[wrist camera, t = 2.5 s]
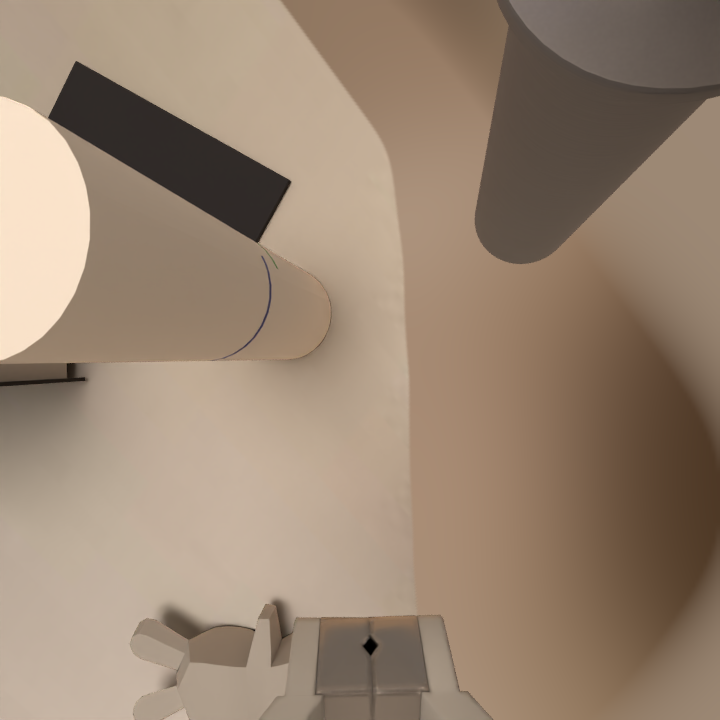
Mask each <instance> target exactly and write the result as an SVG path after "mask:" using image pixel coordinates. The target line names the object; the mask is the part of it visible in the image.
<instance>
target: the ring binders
mask: <svg viewBox="0 0 720 720" xmlns="http://www.w3.org/2000/svg"><path fill="white" fill-rule="evenodd" d="M74 381H85V377H82V378H67V363H27V364H0V386H13V385H28V384H43V383H59V382H74Z"/></svg>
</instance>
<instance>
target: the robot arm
mask: <svg viewBox="0 0 720 720" xmlns="http://www.w3.org/2000/svg"><path fill="white" fill-rule="evenodd" d="M259 720H493V719H492V718H491V717H490V716H489V714H488V713H487V712H486V711H485V710H484V709H483V708H482V707H481V706H480V705H479V703H478V702H477V701H476V700H475V699H474V698H473V697H472V696H471V695H470V693H469V692H467V691H460V690H459V685H458V681H457V677H456V672H455V668H454V664H453V659H452V655H451V650H450V646H449V642H448V638H447V633H446V629H445V625H444V621H443V618H442V617H441V615H419V616H415V615H413V616H382V617H368V618H356V617H321V618H296V620H295V623H294V627H293V635H292V643H291V650H290V658H289V666H288V674H287V681H286V689H285V696H277V697H276V698H275V699H274V700H273V702H272V703H271V704H270V706H269V707H268V708H267V709H266V711H265V712H264V713H263V715H262V716H261V717H260V718H259Z"/></svg>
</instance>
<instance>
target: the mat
mask: <svg viewBox="0 0 720 720" xmlns="http://www.w3.org/2000/svg"><path fill="white" fill-rule="evenodd" d="M48 118H49V119H50V120H52V121H54V122H55V123H57V124H59V125H60V126H62V127H64V128H65V129H67V130H69V131H70V132H72V133H74V134H75V135H77V136H79V137H80V138H82V139H84V140H85V141H87V142H89V143H90V144H92V145H94V146H96V147H97V148H99V149H101V150H102V151H104V152H106V153H107V154H109V155H111V156H112V157H114V158H116V159H117V160H119V161H121V162H122V163H124V164H126V165H127V166H129V167H131V168H132V169H134V170H136V171H137V172H139V173H141V174H142V175H144V176H146V177H147V178H149V179H151V180H152V181H154V182H156V183H157V184H159V185H161V186H162V187H164V188H166V189H167V190H169V191H171V192H172V193H174V194H176V195H178V196H179V197H181V198H183V199H184V200H186V201H188V202H189V203H191V204H193V205H194V206H196V207H198V208H199V209H201V210H203V211H204V212H206V213H208V214H209V215H211V216H213V217H214V218H216V219H218V220H219V221H221V222H223V223H224V224H226V225H228V226H229V227H231V228H233V229H234V230H236V231H238V232H239V233H241V234H243V235H244V236H246V237H248V238H250V239H251V240H253V241H255V242H256V243H257V242H258V241H259V239H260V237H261V235H262V233H263V231H264V230H265V228H266V226H267V224H268V222H269V221H270V219H271V217H272V215H273V213H274V211H275V210H276V208H277V206H278V204H279V202H280V201H281V199H282V197H283V195H284V193H285V192H286V190H287V188H288V186H289V184H290V180H288V179H287V178H285V177H283V176H281V175H279V174H278V173H276V172H274V171H272V170H270V169H269V168H267V167H265V166H263V165H261V164H260V163H258V162H256V161H254V160H253V159H251V158H249V157H247V156H245V155H244V154H242V153H240V152H238V151H236V150H235V149H233V148H231V147H229V146H227V145H226V144H224V143H222V142H220V141H219V140H217V139H215V138H213V137H211V136H210V135H208V134H206V133H204V132H202V131H201V130H199V129H197V128H195V127H193V126H192V125H190V124H188V123H186V122H184V121H183V120H181V119H179V118H177V117H176V116H174V115H172V114H170V113H168V112H167V111H165V110H163V109H161V108H159V107H158V106H156V105H154V104H152V103H150V102H149V101H147V100H145V99H143V98H142V97H140V96H138V95H136V94H134V93H133V92H131V91H129V90H127V89H125V88H124V87H122V86H120V85H118V84H116V83H115V82H113V81H111V80H109V79H107V78H106V77H104V76H102V75H100V74H99V73H97V72H95V71H93V70H91V69H90V68H88V67H86V66H84V65H82V64H81V63H79V62H77V61H76V62H75V64H74V66H73V68H72V70H71V72H70V74H69V76H68V78H67V80H66V82H65V84H64V86H63V88H62V90H61V93H60V95H59V97H58V99H57V101H56V103H55V105H54V107H53V109H52V111H51V113H50V115H49V117H48Z"/></svg>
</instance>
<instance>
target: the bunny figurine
mask: <svg viewBox="0 0 720 720" xmlns="http://www.w3.org/2000/svg"><path fill="white" fill-rule="evenodd" d="M292 635H293V633H292V634H290V635H288V636H286V637H285V638H283V639H282V636H281V630H280V625H279V620H278V615H277V610H276V605H270V604H265V606H264V608H263V610H262V612H261V614H260V616H259V618H258V621H257V625H256V629H255V631H253V630H251V629H247V628H242V627H232V626H224V627H216V628H212V629H210V630H208V631H206V632H204V633H202V634H200V635H198V636H196V637H194V638H192V639H190V640H188V639H186V638H184V637H183V636H181V635H179V634H178V633H176V632H175V631H173V630H171V629H170V628H168V627H167V626H165V625H163V624H162V623H160V622H158V621H157V620H154V619H149V618H146V619H145V620H143V621H141V622H140V623H139V625H138V627H137V629H136V631H135V633H134V634H133V636H132V639H131V642H130V647H131V650H132V652H133V653H134V654H135V655H136V656H137V657H139V658H140V659H143V660H146V661H149V662H153V663H156V664H159V665H162V666H165V667H169V668H172V669H175V670H177V675H176V676H177V685H176V686H173V687H170V688H167V689H164V690H160V691H157V692H154V693H151V694H148V695H145V696H142V697H141V698H140V699H139V700H138V701H137V702H136V704H135V706H134V710H133V716H134V718H135V720H163V719H164V718H166V717H168V716H170V715H172V714H173V713H175V712H177V711H179V710H181V709H182V708H185V710H186V713H187V715H188V718H189V720H259V718H260V717H261V716H262V715H263V713H264V712H265V711H266V709H267V708H268V707H269V706H270V704H271V703H272V702H273V700H274V699H275V698H276V697H277V696H285V689H286V681H287V674H288V666H289V658H290V650H291V643H292Z"/></svg>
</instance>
